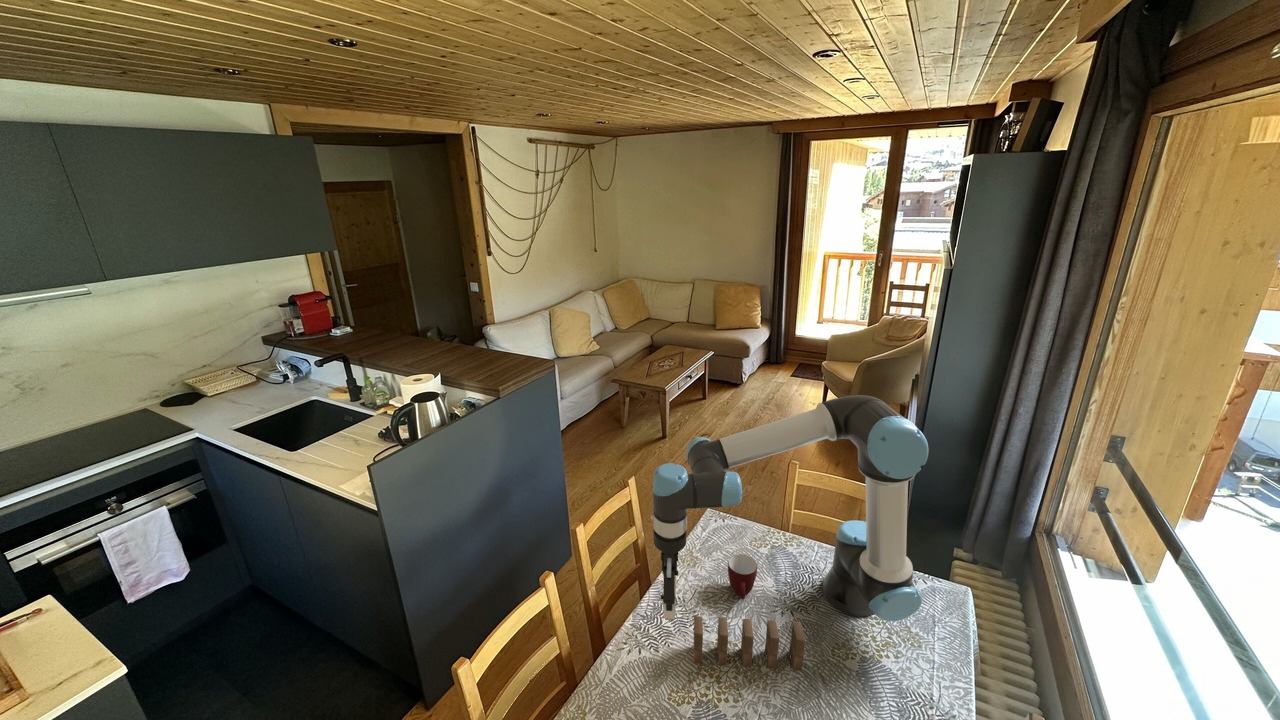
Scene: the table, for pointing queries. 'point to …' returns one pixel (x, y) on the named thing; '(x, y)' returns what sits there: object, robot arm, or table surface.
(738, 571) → the mug
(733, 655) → the table surface
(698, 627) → the domino
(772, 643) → the domino
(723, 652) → the domino
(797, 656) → the domino
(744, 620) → the domino
